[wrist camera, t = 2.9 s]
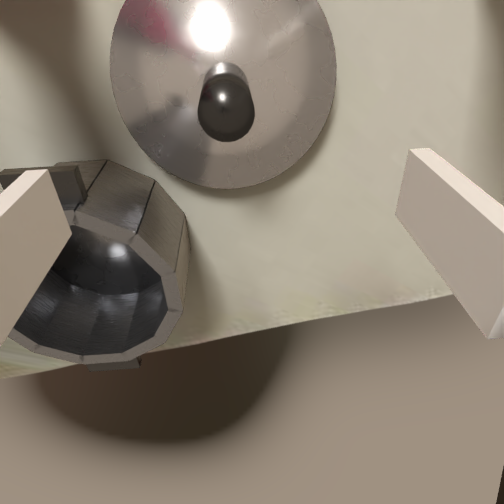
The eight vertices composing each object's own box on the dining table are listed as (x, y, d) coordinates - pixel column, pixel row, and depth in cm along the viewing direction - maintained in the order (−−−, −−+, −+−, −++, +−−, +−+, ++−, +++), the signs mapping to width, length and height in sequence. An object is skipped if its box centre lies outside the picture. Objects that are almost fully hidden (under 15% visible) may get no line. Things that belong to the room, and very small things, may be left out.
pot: (-24, 139, 31) (-101, 186, 24) (170, 128, 31) (155, 171, 24) (61, 317, 43) (28, 384, 36) (200, 307, 44) (195, 372, 36)
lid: (90, -49, 25) (30, -64, 17) (338, -59, 25) (389, -78, 17) (142, 182, 34) (119, 239, 27) (320, 171, 35) (348, 224, 27)
